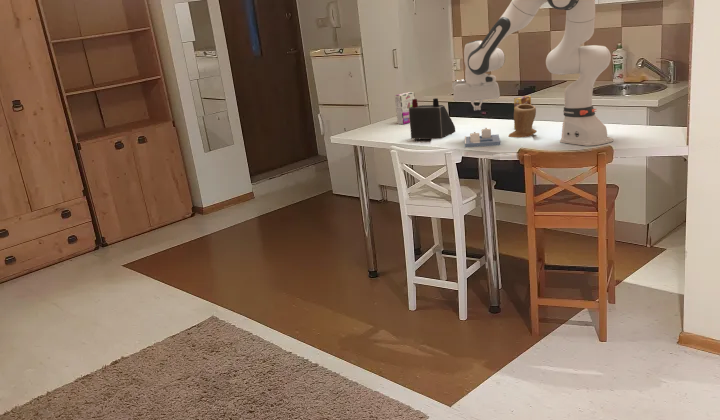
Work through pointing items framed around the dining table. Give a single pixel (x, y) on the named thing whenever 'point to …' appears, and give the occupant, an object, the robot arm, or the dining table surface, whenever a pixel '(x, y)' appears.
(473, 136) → the tab
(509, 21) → the robot arm
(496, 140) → the switch bank
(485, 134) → the tab
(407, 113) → the candy bar box
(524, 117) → the brown hollow flared piece
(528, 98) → the candy box
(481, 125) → the dining table surface
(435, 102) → the voltmeter
